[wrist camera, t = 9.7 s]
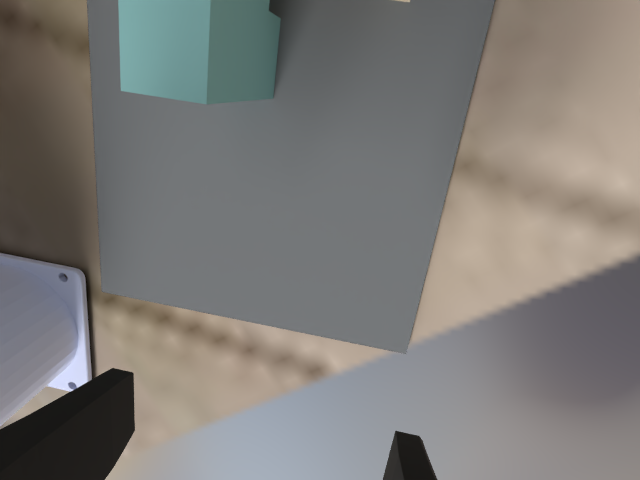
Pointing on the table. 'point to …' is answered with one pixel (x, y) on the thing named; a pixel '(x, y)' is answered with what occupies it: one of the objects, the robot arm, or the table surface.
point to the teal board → (198, 49)
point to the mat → (292, 171)
